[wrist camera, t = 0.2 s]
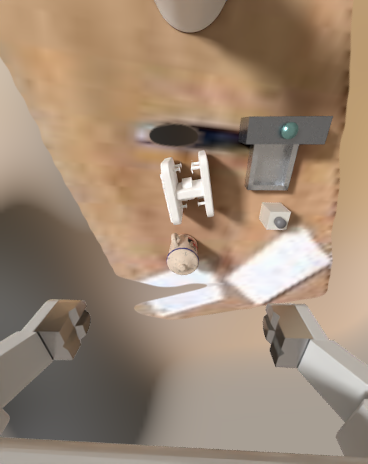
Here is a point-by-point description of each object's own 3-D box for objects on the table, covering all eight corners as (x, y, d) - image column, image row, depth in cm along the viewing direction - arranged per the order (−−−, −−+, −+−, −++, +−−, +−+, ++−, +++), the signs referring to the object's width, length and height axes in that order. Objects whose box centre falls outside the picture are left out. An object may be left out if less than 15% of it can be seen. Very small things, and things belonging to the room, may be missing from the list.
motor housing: (241, 118, 46) (251, 116, 38) (311, 117, 46) (336, 115, 37) (233, 186, 54) (240, 196, 46) (293, 186, 53) (311, 197, 45)
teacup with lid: (202, 252, 64) (204, 276, 54) (177, 260, 66) (173, 285, 56) (188, 221, 59) (186, 241, 49) (161, 231, 61) (154, 252, 51)
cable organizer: (211, 204, 57) (215, 222, 46) (175, 210, 58) (171, 228, 48) (204, 149, 50) (207, 154, 40) (164, 156, 51) (156, 164, 41)
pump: (262, 202, 56) (273, 214, 48) (280, 202, 55) (294, 215, 47) (258, 218, 58) (269, 233, 50) (276, 218, 58) (289, 233, 50)
